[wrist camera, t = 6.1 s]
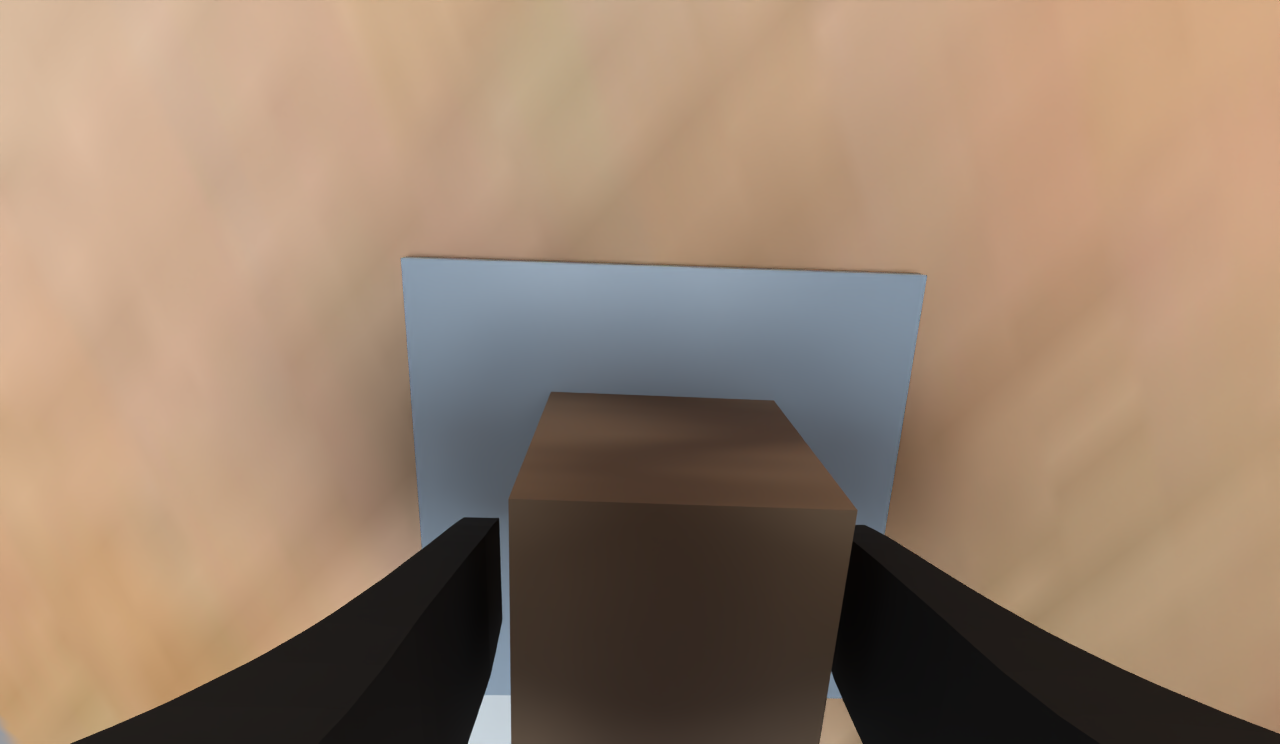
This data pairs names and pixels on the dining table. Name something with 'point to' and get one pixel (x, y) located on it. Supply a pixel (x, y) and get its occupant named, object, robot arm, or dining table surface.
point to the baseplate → (646, 368)
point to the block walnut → (673, 574)
